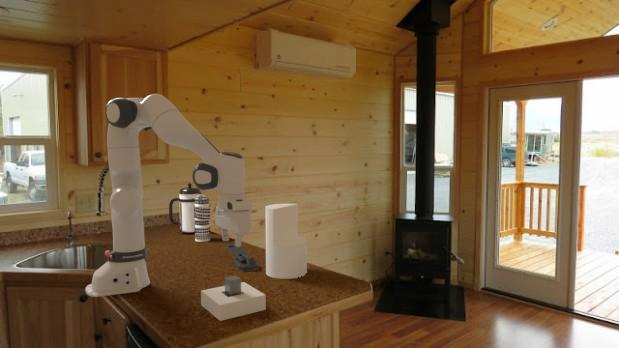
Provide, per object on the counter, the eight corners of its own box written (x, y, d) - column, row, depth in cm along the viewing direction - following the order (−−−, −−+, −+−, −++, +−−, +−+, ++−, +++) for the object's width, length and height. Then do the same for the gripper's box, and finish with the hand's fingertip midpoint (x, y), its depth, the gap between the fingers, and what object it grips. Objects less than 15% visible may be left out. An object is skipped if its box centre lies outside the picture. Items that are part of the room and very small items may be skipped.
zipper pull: (240, 242, 212) (261, 254, 190) (240, 256, 212) (261, 269, 190) (222, 244, 207) (241, 257, 186) (222, 258, 208) (241, 272, 186)
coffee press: (196, 228, 276) (195, 181, 274) (207, 233, 264) (206, 183, 262) (169, 232, 265) (167, 183, 263) (180, 237, 253) (178, 185, 251)
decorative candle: (196, 238, 251) (195, 194, 249) (213, 238, 250) (212, 194, 248) (191, 241, 242) (190, 196, 240) (208, 241, 241) (207, 196, 239)
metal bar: (230, 310, 144) (229, 280, 144) (225, 306, 148) (224, 277, 147) (241, 307, 147) (240, 278, 146) (236, 304, 150) (235, 275, 149)
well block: (220, 321, 136) (219, 305, 136) (201, 305, 149) (200, 290, 149) (265, 309, 145) (265, 294, 145) (244, 295, 158) (243, 281, 158)
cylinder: (257, 274, 183) (256, 207, 181) (282, 264, 198) (282, 202, 196) (291, 281, 174) (290, 211, 172) (314, 270, 188) (314, 205, 186)
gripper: (210, 198, 151) (210, 238, 152) (235, 206, 134) (235, 251, 135) (227, 197, 155) (227, 236, 156) (254, 204, 138) (254, 248, 139)
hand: (231, 243), depth 145 cm, fingers open, 8 cm apart
